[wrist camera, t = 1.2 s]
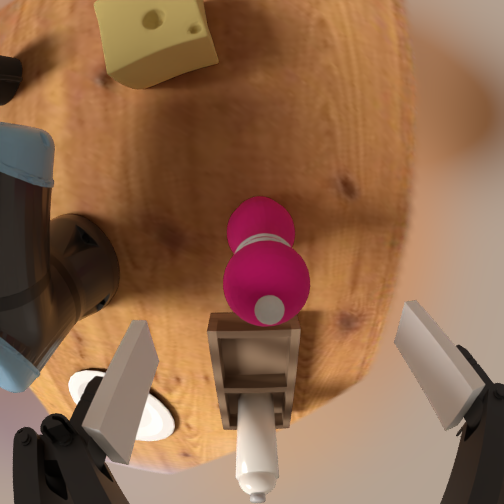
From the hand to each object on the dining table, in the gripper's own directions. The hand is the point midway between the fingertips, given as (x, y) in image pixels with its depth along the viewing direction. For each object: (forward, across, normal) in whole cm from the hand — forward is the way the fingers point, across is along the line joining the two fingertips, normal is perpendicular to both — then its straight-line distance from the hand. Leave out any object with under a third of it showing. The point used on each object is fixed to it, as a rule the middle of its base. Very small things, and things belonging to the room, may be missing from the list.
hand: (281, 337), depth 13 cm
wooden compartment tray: (+22, -2, -26) cm, 34 cm away
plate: (+23, -31, -39) cm, 55 cm away
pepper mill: (+23, 0, -1) cm, 23 cm away
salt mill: (+21, -2, -31) cm, 38 cm away
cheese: (+23, -9, +23) cm, 34 cm away
